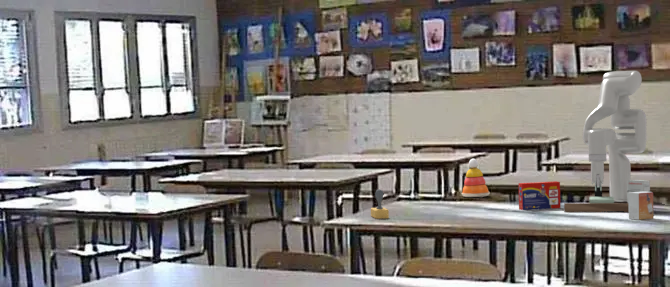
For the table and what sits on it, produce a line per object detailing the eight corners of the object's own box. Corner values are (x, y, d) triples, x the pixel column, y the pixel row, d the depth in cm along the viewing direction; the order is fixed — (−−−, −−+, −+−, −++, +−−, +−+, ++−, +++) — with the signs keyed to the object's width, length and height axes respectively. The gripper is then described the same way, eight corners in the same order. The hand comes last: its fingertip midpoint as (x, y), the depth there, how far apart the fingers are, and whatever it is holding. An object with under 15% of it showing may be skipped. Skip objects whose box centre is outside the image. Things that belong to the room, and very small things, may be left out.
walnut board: (564, 211, 416) (564, 203, 416) (633, 211, 409) (633, 202, 409) (564, 211, 414) (564, 203, 414) (633, 211, 407) (633, 203, 407)
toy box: (556, 207, 435) (555, 181, 434) (560, 208, 431) (559, 181, 430) (518, 209, 430) (518, 183, 430) (522, 210, 427) (522, 183, 426)
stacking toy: (492, 195, 500) (491, 157, 499) (486, 198, 487) (485, 159, 486) (465, 195, 505) (464, 157, 504) (458, 198, 492) (457, 159, 491)
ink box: (650, 207, 423) (650, 180, 423) (644, 208, 420) (643, 180, 419) (633, 206, 430) (633, 179, 429) (627, 207, 426) (626, 180, 426)
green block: (589, 209, 425) (589, 196, 425) (613, 209, 423) (613, 196, 422) (589, 212, 414) (589, 199, 413) (614, 212, 411) (613, 199, 411)
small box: (638, 220, 378) (638, 193, 378) (628, 219, 383) (627, 192, 383) (654, 218, 382) (653, 191, 381) (643, 217, 387) (643, 190, 386)
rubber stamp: (388, 218, 411) (388, 189, 411) (375, 218, 410) (374, 190, 410) (383, 215, 421) (383, 188, 420) (370, 216, 420) (369, 188, 420)
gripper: (588, 157, 433) (589, 198, 434) (588, 159, 419) (589, 202, 420) (606, 156, 431) (607, 198, 432) (606, 159, 417) (607, 201, 418)
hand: (598, 200), depth 426 cm, fingers closed
